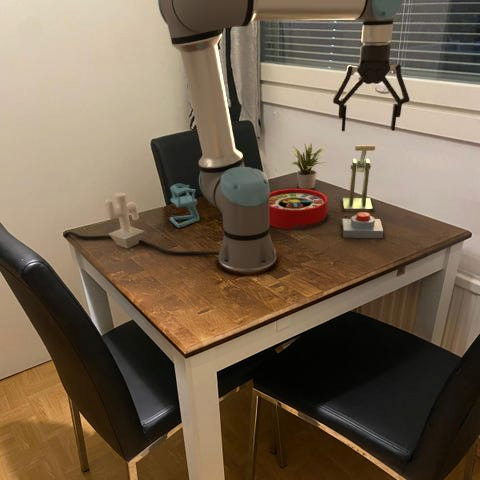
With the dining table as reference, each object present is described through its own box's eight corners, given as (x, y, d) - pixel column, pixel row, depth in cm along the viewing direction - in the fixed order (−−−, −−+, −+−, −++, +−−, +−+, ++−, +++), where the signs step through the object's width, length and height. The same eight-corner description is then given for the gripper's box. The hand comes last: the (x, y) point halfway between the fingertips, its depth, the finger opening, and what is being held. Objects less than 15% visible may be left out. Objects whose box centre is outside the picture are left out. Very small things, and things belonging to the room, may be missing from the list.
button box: (343, 237, 141) (344, 224, 139) (341, 225, 148) (342, 212, 146) (382, 238, 139) (384, 224, 137) (379, 226, 147) (380, 213, 145)
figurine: (149, 241, 144) (141, 191, 136) (123, 252, 138) (114, 200, 130) (132, 236, 148) (124, 186, 140) (107, 246, 142) (97, 196, 134)
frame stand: (372, 212, 157) (377, 165, 149) (343, 211, 158) (347, 165, 150) (369, 201, 165) (374, 156, 157) (342, 201, 166) (345, 156, 158)
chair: (202, 222, 155) (199, 185, 148) (178, 228, 152) (173, 189, 145) (193, 215, 160) (190, 178, 154) (169, 220, 157) (165, 183, 151)
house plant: (333, 195, 171) (336, 147, 163) (294, 198, 170) (295, 150, 161) (321, 183, 183) (324, 137, 175) (285, 186, 182) (285, 140, 173)
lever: (375, 150, 142) (375, 142, 143) (355, 150, 143) (355, 142, 143) (368, 172, 155) (369, 165, 156) (351, 172, 156) (351, 165, 156)
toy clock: (261, 189, 161) (323, 187, 160) (262, 206, 164) (322, 205, 164) (263, 211, 144) (331, 209, 144) (263, 230, 148) (330, 228, 147)
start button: (356, 222, 141) (357, 216, 140) (356, 217, 144) (356, 211, 143) (369, 222, 140) (370, 216, 139) (368, 217, 143) (369, 212, 142)
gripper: (423, 41, 129) (411, 126, 140) (326, 44, 132) (322, 127, 143) (428, 43, 123) (415, 132, 134) (327, 46, 126) (323, 133, 137)
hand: (367, 130), depth 139 cm, fingers open, 13 cm apart
